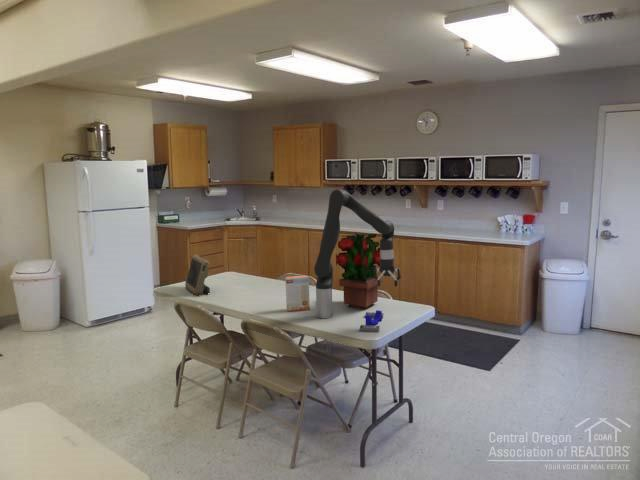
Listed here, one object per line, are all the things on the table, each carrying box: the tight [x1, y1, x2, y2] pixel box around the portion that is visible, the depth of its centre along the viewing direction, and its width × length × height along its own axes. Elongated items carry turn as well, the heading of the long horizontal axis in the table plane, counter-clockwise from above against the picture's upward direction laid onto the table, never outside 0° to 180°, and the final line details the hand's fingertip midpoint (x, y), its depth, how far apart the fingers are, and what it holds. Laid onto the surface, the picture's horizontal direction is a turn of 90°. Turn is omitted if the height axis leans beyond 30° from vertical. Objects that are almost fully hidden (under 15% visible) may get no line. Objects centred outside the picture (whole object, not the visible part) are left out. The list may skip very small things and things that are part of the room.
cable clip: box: [365, 309, 383, 326], centre depth 267 cm, size 12×4×6 cm, turn 141°
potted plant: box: [335, 232, 383, 310], centre depth 300 cm, size 22×22×45 cm
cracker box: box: [284, 275, 311, 313], centre depth 295 cm, size 14×6×21 cm, turn 100°
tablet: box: [184, 254, 211, 297], centre depth 348 cm, size 33×14×25 cm, turn 33°
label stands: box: [359, 311, 384, 333], centre depth 267 cm, size 10×28×2 cm, turn 168°
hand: (387, 286), depth 263 cm, fingers open, 8 cm apart
